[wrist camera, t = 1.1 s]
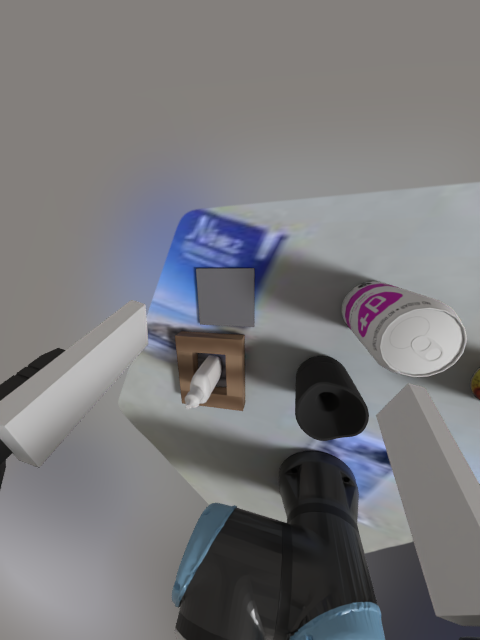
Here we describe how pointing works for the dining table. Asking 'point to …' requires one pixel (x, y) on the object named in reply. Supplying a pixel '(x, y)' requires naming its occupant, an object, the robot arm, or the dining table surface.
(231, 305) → the rubber mat
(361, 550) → the robot arm
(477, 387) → the canned food
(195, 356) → the bottle holder
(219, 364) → the eye dropper bottle
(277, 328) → the dining table surface
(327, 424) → the pen holder
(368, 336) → the supplement can
